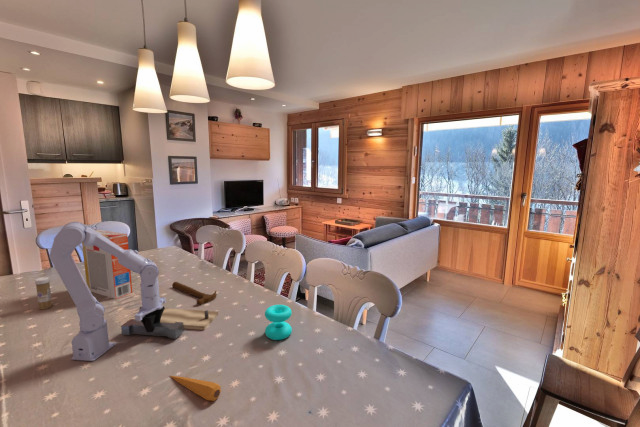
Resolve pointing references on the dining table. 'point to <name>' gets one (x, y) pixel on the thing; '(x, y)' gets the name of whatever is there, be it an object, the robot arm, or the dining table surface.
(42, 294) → the sprinkles bottle
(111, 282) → the pasta box
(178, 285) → the hammer
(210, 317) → the oak board
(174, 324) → the drawer pull handle
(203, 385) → the carrot
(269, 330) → the donuts
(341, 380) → the dining table surface
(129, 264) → the robot arm
